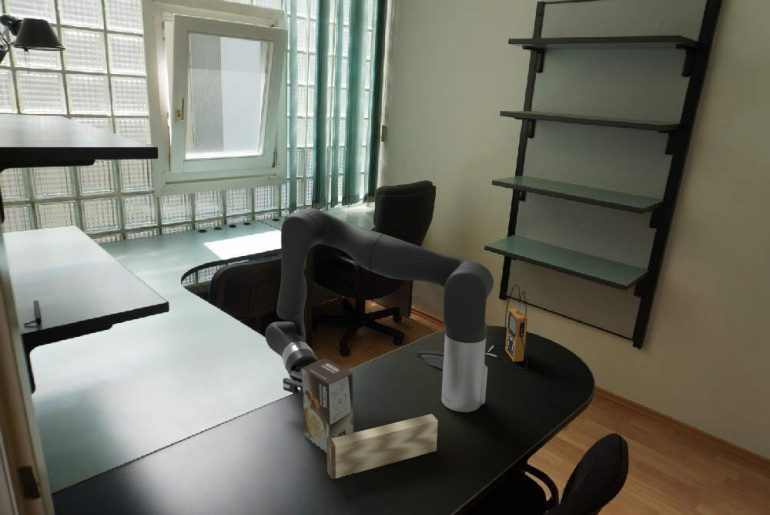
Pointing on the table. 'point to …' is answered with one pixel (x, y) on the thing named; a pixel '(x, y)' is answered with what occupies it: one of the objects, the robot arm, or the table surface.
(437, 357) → the curved wedge
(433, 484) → the table surface
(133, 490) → the table surface
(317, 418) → the coffee box
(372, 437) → the board
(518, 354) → the multimeter
